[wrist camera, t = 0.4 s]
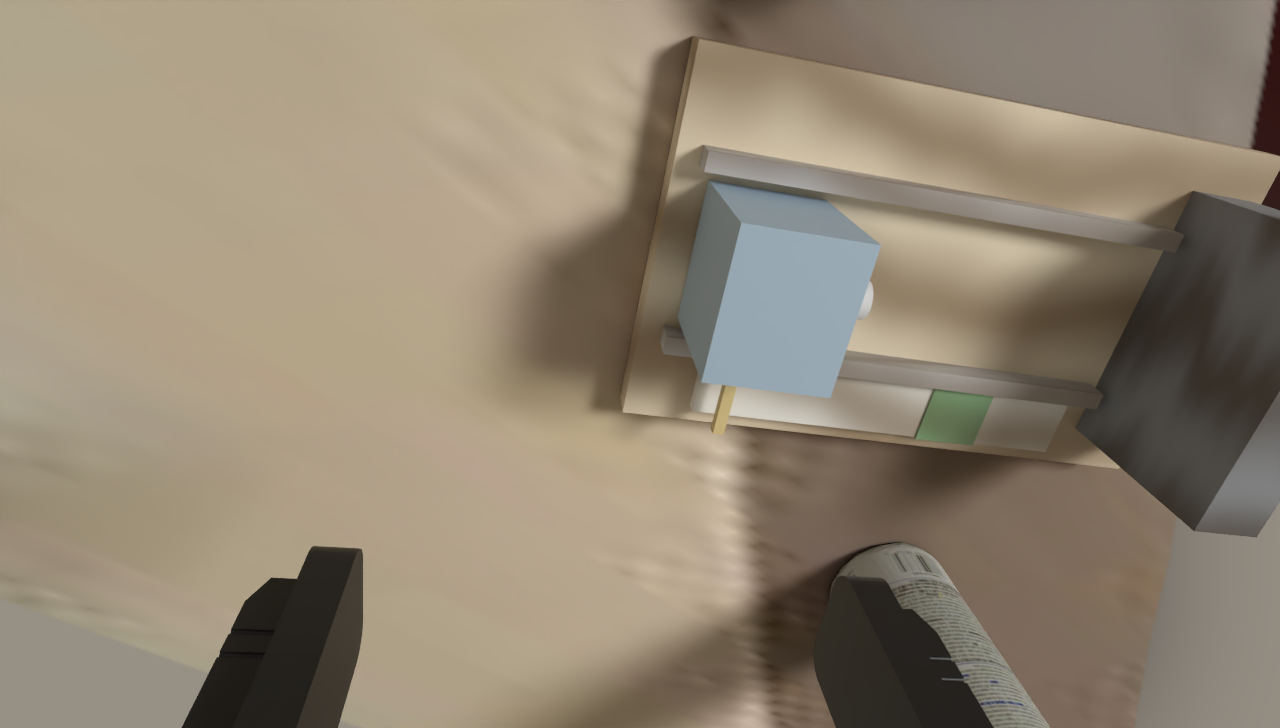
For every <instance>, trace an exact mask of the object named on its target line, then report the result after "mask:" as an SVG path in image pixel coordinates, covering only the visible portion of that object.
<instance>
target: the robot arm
mask: <svg viewBox="0 0 1280 728" xmlns="http://www.w3.org/2000/svg"><path fill="white" fill-rule="evenodd" d="M362 628H363V553H362V550H361V549H358V548H339V547H320V546H313V547H312V548H311V549H310V551H309V553H308V555H307V557H306V560H305V562H304V564H303V566H302V569H301V571H300V573H299V576H298V578H297V579H286V578H271V579H270V580H268V581H267V582H266V583H265V584H264V585H263V586H262V587H261V588H259V589H258V590H257V591H256V592H255V593H254V594H253V595H251V596H250V597H249V598H248V599H247V600H246V601H245V602H244V604H243V606H242V608H241V610H240V612H239V614H238V616H237V618H236V620H235V622H234V624H233V626H232V628H231V634H228V636H227V638H226V640H225V642H224V644H223V646H222V648H221V650H220V655H219V657H217V658H216V660H215V662H214V664H213V666H212V668H211V670H210V672H209V674H208V676H207V678H206V680H205V682H204V684H203V686H202V688H201V690H200V692H199V694H198V696H197V698H196V700H195V702H194V704H193V706H192V708H191V710H190V712H189V714H188V716H187V718H186V720H185V722H184V724H183V726H182V728H338V725H339V722H340V718H341V715H342V711H343V708H344V704H345V701H346V698H347V694H348V691H349V687H350V684H351V680H352V677H353V673H354V670H355V667H356V663H357V659H358V655H359V650H360V644H361V637H362ZM814 666H815V672H816V676H817V679H818V682H819V684H820V687H821V690H822V692H823V695H824V698H825V700H826V703H827V705H828V708H829V711H830V713H831V716H832V718H833V721H834V724H835V726H836V728H994V727H993V726H992V724H991V722H990V721H989V719H988V717H987V716H986V714H985V712H984V710H983V709H982V707H981V705H980V704H979V702H978V700H977V699H976V697H975V695H974V694H973V692H972V690H971V689H970V687H969V685H968V684H967V683H964V677H963V675H962V674H961V672H960V670H959V669H958V667H957V665H956V663H955V662H952V660H951V655H950V653H949V652H948V650H947V648H946V647H945V645H944V643H943V642H942V640H941V638H940V637H939V635H938V633H937V632H936V631H935V630H934V629H933V628H932V627H931V626H930V625H929V624H928V623H927V622H926V621H925V620H923V619H922V618H921V617H920V616H919V615H918V614H917V613H916V612H915V611H914V610H913V609H902V607H901V605H900V604H899V602H898V600H897V598H896V597H895V595H894V593H893V591H892V589H891V588H890V586H889V584H888V583H887V582H886V580H884V579H883V578H879V577H860V576H839V577H838V578H837V579H836V581H835V582H834V585H833V588H832V591H831V594H830V597H829V600H828V603H827V606H826V609H825V612H824V615H823V619H822V622H821V625H820V628H819V631H818V634H817V637H816V641H815V646H814Z"/></svg>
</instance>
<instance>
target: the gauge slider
mask: <svg viewBox="0 0 1280 728" xmlns="http://www.w3.org/2000/svg"><path fill="white" fill-rule="evenodd" d="M880 248H881V245H880V244H879V243H878V242H877V241H875V240H874V239H873V238H872V237H871V236H869V235H868V234H867V233H866V232H864V231H863V230H862V229H861V228H860V227H858V226H857V225H856V224H855V223H853V222H852V221H851V220H850V219H849V218H847V217H846V216H845V215H844V214H842V213H841V212H840V211H839V210H838V209H836V208H835V207H834V206H833V205H831V204H830V203H829V202H828V201H827V200H823V199H817V198H811V197H805V196H799V195H794V194H788V193H782V192H776V191H770V190H764V189H758V188H752V187H747V186H741V185H735V184H729V183H723V182H717V181H711V180H708V185H707V189H706V193H705V198H704V202H703V207H702V211H701V215H700V220H699V224H698V229H697V233H696V238H695V242H694V246H693V251H692V255H691V260H690V264H689V268H688V273H687V277H686V282H685V286H684V290H683V295H682V299H681V304H680V308H679V313H678V317H677V318H678V320H679V323H680V326H681V329H682V331H683V334H684V337H685V339H686V342H687V345H688V347H689V350H690V353H691V356H692V358H693V361H694V364H695V366H696V369H697V372H698V374H699V377H700V380H701V382H702V383H710V384H719V385H722V387H721V391H720V395H719V398H718V402H717V406H716V410H715V413H714V417H713V421H712V425H711V430H712V432H713V434H722V435H724V432H725V429H726V425H727V421H728V418H729V414H730V410H731V407H732V403H733V399H734V396H735V392H736V388H737V387H743V388H751V389H759V390H767V391H776V392H784V393H792V394H800V395H808V396H816V397H824V398H831V395H832V392H833V389H834V386H835V383H836V380H837V377H838V374H839V371H840V368H841V365H842V362H843V359H844V356H845V353H846V350H847V347H848V344H849V341H850V338H851V335H852V332H853V329H854V326H855V323H856V320H857V319H858V320H863V319H864V318H865V317H866V316H867V315H868V313H869V311H870V309H871V306H872V302H873V286H872V283H871V282H870V278H871V275H872V272H873V269H874V266H875V263H876V260H877V257H878V254H879V251H880Z"/></svg>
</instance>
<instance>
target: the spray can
mask: <svg viewBox="0 0 1280 728" xmlns="http://www.w3.org/2000/svg"><path fill="white" fill-rule="evenodd" d="M839 576H860V577H879V578H883V579H884V580H886V582H887V583H888V584H889V586H890V588H891V589H892V591H893V593H894V595H895V597H896V598H897V600H898V602H899V604H900V605H901V607H902V609H913V610H914V611H915V612H916V613H917V614H918V615H919V616H920V617H921V618H922V619H923V620H925V621H926V622H927V623H928V624H929V625H930V626H931V627H932V628H933V629H934V630H935V631H936V632H937V633H938V635H939V637H940V638H941V640H942V642H943V643H944V645H945V647H946V648H947V650H948V652H949V653H950V655H951V660H952V662H955V663H956V665H957V667H958V669H959V670H960V672H961V674H962V675H963V677H964V683H967V684H968V685H969V687H970V689H971V690H972V692H973V694H974V695H975V697H976V699H977V700H978V702H979V704H980V705H981V707H982V709H983V710H984V712H985V714H986V716H987V717H988V719H989V721H990V722H991V724H992V726H993V727H994V728H1050V727H1049V725H1048V724H1047V722H1046V721H1045V719H1044V718H1043V716H1042V715H1041V713H1040V712H1039V710H1038V709H1037V707H1036V706H1035V704H1034V703H1033V702H1032V700H1031V698H1030V697H1029V695H1028V694H1027V692H1026V691H1025V690H1024V688H1023V687H1022V685H1021V684H1020V682H1019V681H1018V679H1017V678H1016V676H1015V675H1014V673H1013V672H1012V670H1011V669H1010V667H1009V666H1008V664H1007V663H1006V661H1005V660H1004V658H1003V657H1002V655H1001V654H1000V653H999V651H998V650H997V648H996V647H995V645H994V644H993V642H992V641H991V639H990V638H989V636H988V635H987V633H986V632H985V630H984V629H983V627H982V626H981V624H980V623H979V621H978V620H977V618H976V617H975V615H974V614H973V612H972V611H971V610H970V608H969V607H968V605H967V604H966V602H965V601H964V599H963V598H962V596H961V595H960V593H959V592H958V590H957V589H956V588H955V586H954V585H953V583H952V582H951V580H950V579H949V577H948V576H947V574H946V573H945V571H944V570H943V568H942V567H941V565H940V564H939V563H938V562H937V561H936V559H935V558H933V557H932V556H931V555H930V554H928V553H927V552H925V551H924V550H922V549H921V548H919V547H916V546H913V545H909V544H906V543H901V542H899V543H893V544H888V545H882V546H877V547H874V548H871V549H868V550H866V551H864V552H862V553H860V554H858V555H856V556H854V557H853V558H852V559H851V560H850V561H849V562H848V563H847V564H845V565H844V566H843V567H842V568H841V570H840V572H839V573H838V575H837V576H836V578H835V579H834V581H833V582H832V585H831V589H830V594H831V591H832V588H833V585H834V582H835V581H836V579H837V578H838V577H839Z"/></svg>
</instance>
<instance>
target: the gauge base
mask: <svg viewBox="0 0 1280 728" xmlns="http://www.w3.org/2000/svg"><path fill="white" fill-rule="evenodd" d="M1279 170H1280V156H1277V155H1272V154H1268V153H1265V152H1260V151H1256V150H1251V149H1247V148H1242V147H1237V146H1232V145H1227V144H1222V143H1217V142H1212V141H1207V140H1202V139H1197V138H1192V137H1187V136H1182V135H1178V134H1173V133H1168V132H1163V131H1158V130H1153V129H1148V128H1143V127H1138V126H1133V125H1128V124H1123V123H1118V122H1113V121H1109V120H1104V119H1099V118H1094V117H1089V116H1084V115H1079V114H1074V113H1069V112H1064V111H1059V110H1054V109H1049V108H1044V107H1040V106H1035V105H1030V104H1025V103H1020V102H1015V101H1010V100H1005V99H1000V98H995V97H990V96H985V95H980V94H975V93H970V92H966V91H961V90H956V89H951V88H946V87H941V86H936V85H931V84H926V83H921V82H916V81H911V80H906V79H901V78H897V77H892V76H887V75H882V74H877V73H872V72H867V71H862V70H857V69H852V68H847V67H842V66H837V65H832V64H828V63H823V62H818V61H813V60H808V59H803V58H798V57H793V56H788V55H783V54H778V53H773V52H768V51H763V50H759V49H754V48H749V47H744V46H739V45H734V44H729V43H724V42H719V41H714V40H709V39H704V38H699V37H694V36H693V37H692V42H691V47H690V52H689V57H688V62H687V67H686V72H685V76H684V81H683V86H682V91H681V96H680V101H679V106H678V111H677V116H676V121H675V126H674V131H673V136H672V141H671V146H670V151H669V156H668V161H667V166H666V171H665V175H664V180H663V185H662V190H661V195H660V200H659V205H658V210H657V215H656V220H655V225H654V230H653V235H652V240H651V245H650V250H649V255H648V260H647V265H646V270H645V275H644V279H643V284H642V289H641V294H640V299H639V304H638V309H637V314H636V319H635V324H634V329H633V334H632V339H631V344H630V349H629V354H628V359H627V364H626V369H625V374H624V379H623V383H622V388H621V393H620V400H621V406H622V412H625V413H634V414H642V415H651V416H660V417H669V418H678V419H686V420H695V421H704V422H712V421H713V417H714V413H715V410H716V406H717V402H718V398H719V395H720V391H721V387H722V385H719V384H710V383H702V382H701V380H700V377H699V374H698V372H697V369H696V366H695V364H694V361H693V358H692V356H691V353H690V350H689V347H688V345H687V342H686V339H685V337H684V334H683V331H682V329H681V326H680V323H679V320H678V318H677V317H678V313H679V308H680V304H681V299H682V295H683V290H684V286H685V282H686V277H687V273H688V268H689V264H690V260H691V255H692V251H693V246H694V242H695V238H696V233H697V229H698V224H699V220H700V215H701V211H702V207H703V202H704V198H705V193H706V189H707V185H708V180H711V181H717V182H723V183H729V184H735V185H741V186H747V187H752V188H758V189H764V190H770V191H776V192H782V193H788V194H794V195H799V196H805V197H811V198H817V199H823V200H827V201H828V202H829V203H830V204H831V205H833V206H834V207H835V208H836V209H838V210H839V211H840V212H841V213H842V214H844V215H845V216H846V217H847V218H849V219H850V220H851V221H852V222H853V223H855V224H856V225H857V226H858V227H860V228H861V229H862V230H863V231H864V232H866V233H867V234H868V235H869V236H871V237H872V238H873V239H874V240H875V241H877V242H878V243H879V244H880V245H881V248H880V251H879V254H878V257H877V260H876V263H875V266H874V269H873V272H872V275H871V278H870V282H871V283H872V286H873V302H872V306H871V309H870V311H869V313H868V315H867V316H866V317H865V318H864V319H863V320H858V319H857V320H856V323H855V326H854V329H853V332H852V335H851V338H850V341H849V344H848V347H847V350H846V353H845V356H844V359H843V362H842V365H841V368H840V371H839V374H838V377H837V380H836V383H835V386H834V389H833V392H832V395H831V398H824V397H816V396H808V395H800V394H792V393H784V392H776V391H767V390H759V389H751V388H743V387H737V388H736V392H735V396H734V399H733V403H732V407H731V410H730V414H729V418H728V421H727V424H730V425H739V426H748V427H757V428H765V429H774V430H783V431H792V432H801V433H809V434H818V435H827V436H836V437H844V438H853V439H862V440H871V441H880V442H888V443H897V444H906V445H915V446H924V447H932V448H941V449H950V450H959V451H967V452H976V453H985V454H994V455H1003V456H1011V457H1020V458H1029V459H1038V460H1047V461H1055V462H1064V463H1073V464H1082V465H1090V466H1099V467H1108V468H1117V469H1119V467H1121V468H1122V469H1123V470H1124V471H1125V472H1126V473H1128V474H1129V475H1130V476H1131V477H1132V478H1133V479H1135V480H1136V481H1137V482H1138V483H1139V484H1140V485H1141V486H1143V487H1144V488H1145V489H1146V490H1147V491H1148V492H1150V493H1151V494H1152V495H1153V496H1154V497H1155V498H1157V499H1158V500H1159V501H1160V502H1161V503H1162V504H1163V505H1165V506H1166V507H1167V508H1168V509H1169V510H1170V511H1172V512H1173V513H1174V514H1175V515H1176V516H1177V517H1178V518H1180V519H1181V520H1182V521H1183V522H1184V523H1185V524H1187V525H1188V526H1189V527H1190V528H1191V529H1192V530H1194V531H1200V532H1209V533H1220V534H1229V535H1239V536H1249V537H1257V536H1258V534H1259V532H1260V531H1261V529H1262V528H1263V526H1264V525H1265V523H1266V522H1267V520H1268V519H1269V517H1270V516H1271V514H1272V512H1273V511H1274V510H1275V508H1276V506H1277V505H1278V504H1279V502H1280V211H1279V210H1276V209H1273V208H1269V207H1267V206H1264V205H1261V203H1262V201H1263V200H1264V198H1265V196H1266V194H1267V192H1268V190H1269V188H1270V187H1271V185H1272V183H1273V181H1274V179H1275V177H1276V175H1277V174H1278V172H1279Z"/></svg>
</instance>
